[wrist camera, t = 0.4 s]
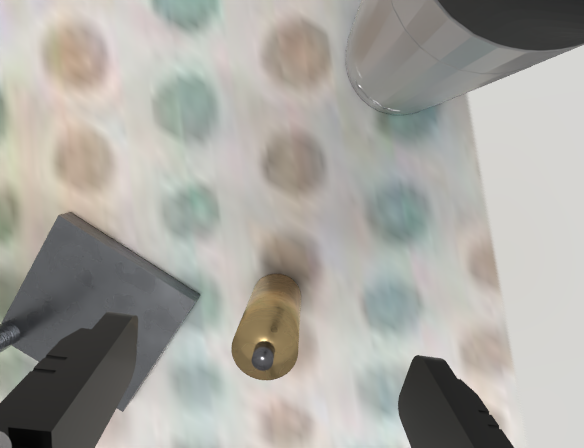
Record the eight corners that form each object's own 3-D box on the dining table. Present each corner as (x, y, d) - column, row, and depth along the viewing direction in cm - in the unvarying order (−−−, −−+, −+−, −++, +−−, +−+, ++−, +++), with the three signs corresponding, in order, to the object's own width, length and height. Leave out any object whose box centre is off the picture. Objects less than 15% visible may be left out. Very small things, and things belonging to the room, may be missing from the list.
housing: (269, 264, 31) (251, 315, 21) (310, 291, 31) (311, 353, 21) (243, 302, 32) (214, 368, 22) (283, 327, 32) (272, 404, 22)
